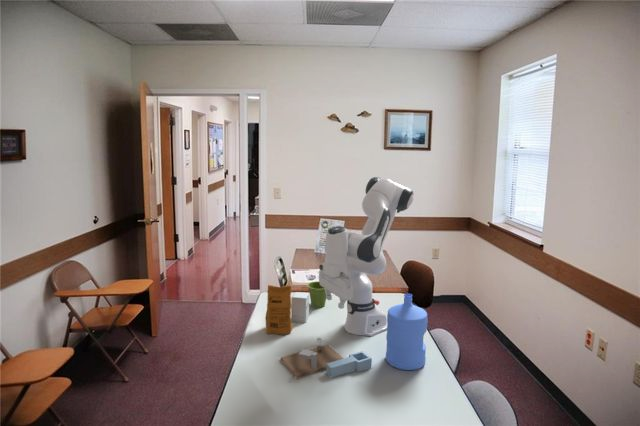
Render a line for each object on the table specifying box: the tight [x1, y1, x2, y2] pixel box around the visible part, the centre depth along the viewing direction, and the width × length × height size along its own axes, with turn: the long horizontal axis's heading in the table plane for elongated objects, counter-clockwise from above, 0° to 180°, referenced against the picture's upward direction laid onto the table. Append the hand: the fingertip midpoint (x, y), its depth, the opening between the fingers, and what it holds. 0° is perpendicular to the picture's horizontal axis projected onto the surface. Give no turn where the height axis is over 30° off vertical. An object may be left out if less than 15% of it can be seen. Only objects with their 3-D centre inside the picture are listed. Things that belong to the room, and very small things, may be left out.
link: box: [325, 350, 373, 379], centre depth 167 cm, size 17×6×4 cm, turn 119°
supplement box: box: [291, 291, 310, 324], centre depth 210 cm, size 7×7×13 cm
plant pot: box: [306, 281, 327, 309], centre depth 227 cm, size 12×12×11 cm
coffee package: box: [265, 284, 293, 336], centre depth 198 cm, size 10×12×22 cm
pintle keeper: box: [299, 337, 323, 369], centre depth 171 cm, size 16×6×6 cm, turn 157°
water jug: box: [385, 293, 428, 371], centre depth 171 cm, size 16×16×28 cm
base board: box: [279, 344, 345, 379], centre depth 172 cm, size 22×15×1 cm
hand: (334, 303), depth 167 cm, fingers open, 8 cm apart
